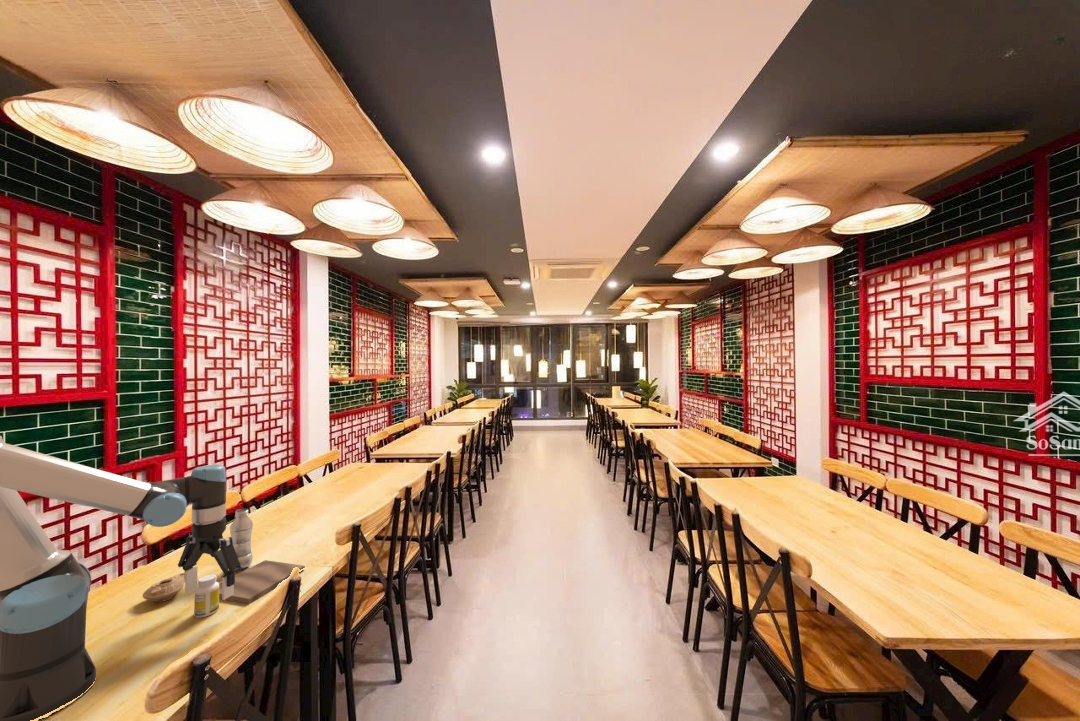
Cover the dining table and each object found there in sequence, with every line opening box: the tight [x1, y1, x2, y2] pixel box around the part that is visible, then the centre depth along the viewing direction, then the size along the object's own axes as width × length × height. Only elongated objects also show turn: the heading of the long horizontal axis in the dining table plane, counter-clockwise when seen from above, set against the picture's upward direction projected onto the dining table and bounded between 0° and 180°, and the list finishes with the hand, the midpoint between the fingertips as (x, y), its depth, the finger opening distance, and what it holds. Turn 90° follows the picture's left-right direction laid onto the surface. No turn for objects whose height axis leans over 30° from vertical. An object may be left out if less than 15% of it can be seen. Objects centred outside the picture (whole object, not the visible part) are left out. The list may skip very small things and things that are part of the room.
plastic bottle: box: [229, 508, 254, 570], centre depth 135 cm, size 6×7×20 cm
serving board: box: [219, 559, 306, 605], centre depth 126 cm, size 20×17×2 cm
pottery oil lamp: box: [142, 572, 185, 602], centre depth 119 cm, size 9×12×7 cm
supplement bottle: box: [193, 573, 220, 619], centre depth 110 cm, size 5×5×10 cm
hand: (209, 594), depth 111 cm, fingers open, 13 cm apart
